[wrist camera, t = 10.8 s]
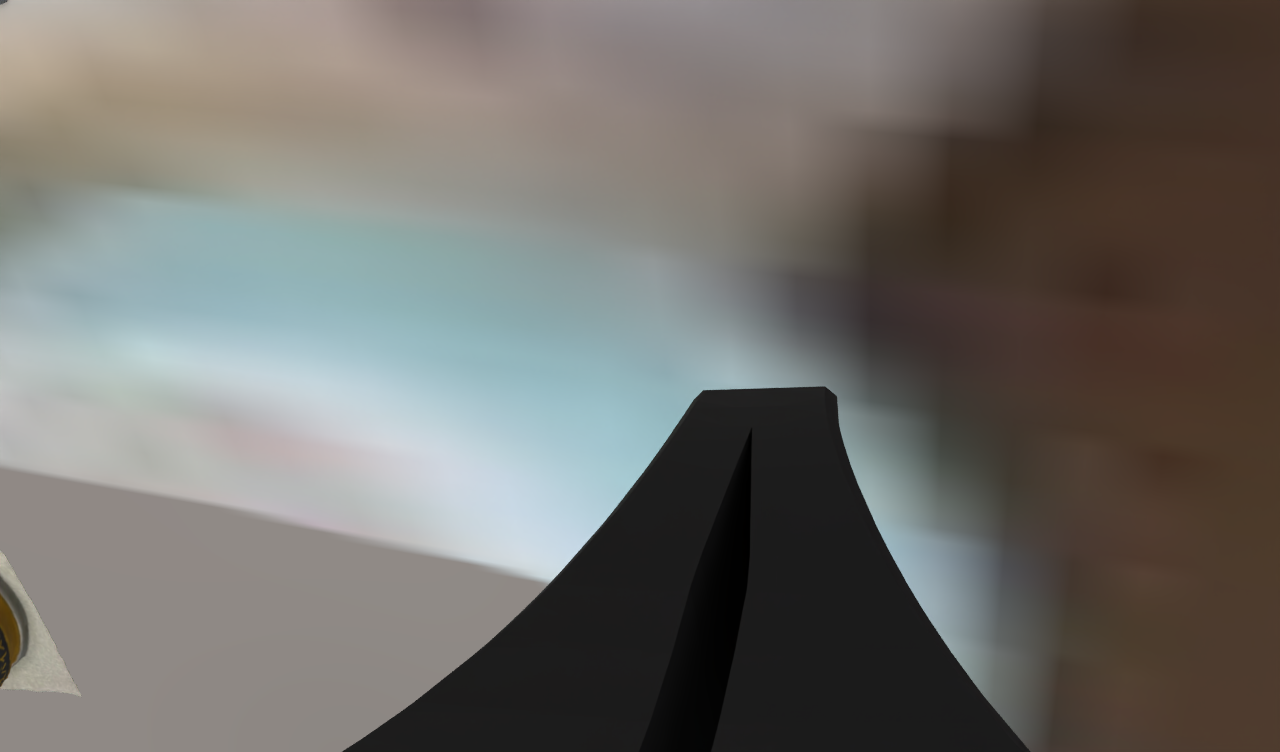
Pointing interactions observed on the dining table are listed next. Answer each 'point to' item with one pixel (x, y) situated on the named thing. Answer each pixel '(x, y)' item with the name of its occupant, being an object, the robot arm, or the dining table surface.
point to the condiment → (27, 642)
